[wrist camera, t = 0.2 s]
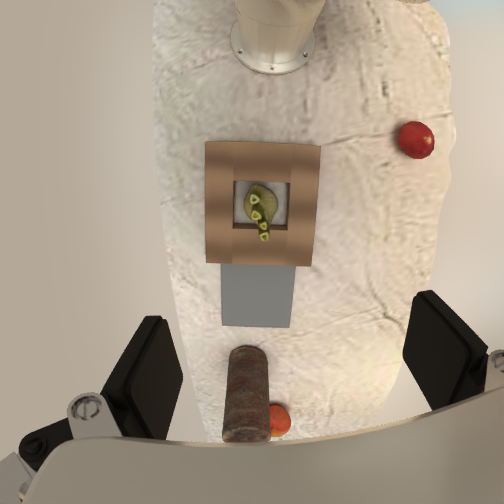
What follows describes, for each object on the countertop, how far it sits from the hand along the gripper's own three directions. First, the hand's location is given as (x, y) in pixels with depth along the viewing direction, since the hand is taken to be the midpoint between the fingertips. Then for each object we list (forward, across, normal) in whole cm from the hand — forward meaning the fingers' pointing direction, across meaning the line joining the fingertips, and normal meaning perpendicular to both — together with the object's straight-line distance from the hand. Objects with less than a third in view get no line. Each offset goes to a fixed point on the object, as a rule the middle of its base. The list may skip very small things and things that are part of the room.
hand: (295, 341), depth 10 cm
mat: (+36, +3, +17) cm, 40 cm away
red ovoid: (+36, -23, -8) cm, 43 cm away
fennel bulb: (+36, +1, +1) cm, 36 cm away
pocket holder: (+36, +1, +1) cm, 36 cm away
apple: (+36, +2, +47) cm, 60 cm away
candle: (+36, +6, +31) cm, 48 cm away
